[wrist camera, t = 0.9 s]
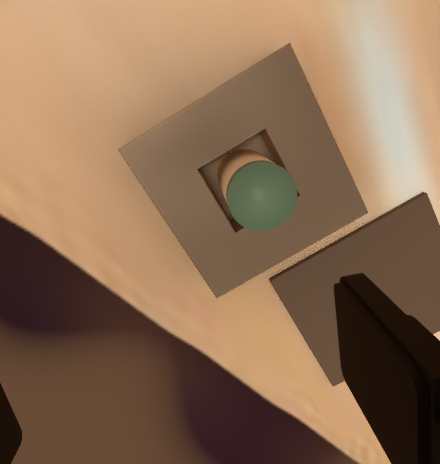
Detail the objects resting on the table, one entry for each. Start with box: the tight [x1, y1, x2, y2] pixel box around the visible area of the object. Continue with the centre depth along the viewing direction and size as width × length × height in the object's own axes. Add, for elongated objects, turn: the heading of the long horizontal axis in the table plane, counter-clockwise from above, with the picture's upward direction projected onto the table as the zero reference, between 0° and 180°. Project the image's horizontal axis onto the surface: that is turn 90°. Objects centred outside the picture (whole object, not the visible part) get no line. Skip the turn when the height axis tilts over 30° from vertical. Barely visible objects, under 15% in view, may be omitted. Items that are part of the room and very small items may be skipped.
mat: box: [269, 192, 440, 386], centre depth 41 cm, size 18×16×1 cm
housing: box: [118, 43, 368, 298], centre depth 34 cm, size 16×16×4 cm
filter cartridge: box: [217, 149, 297, 231], centre depth 31 cm, size 5×5×10 cm
